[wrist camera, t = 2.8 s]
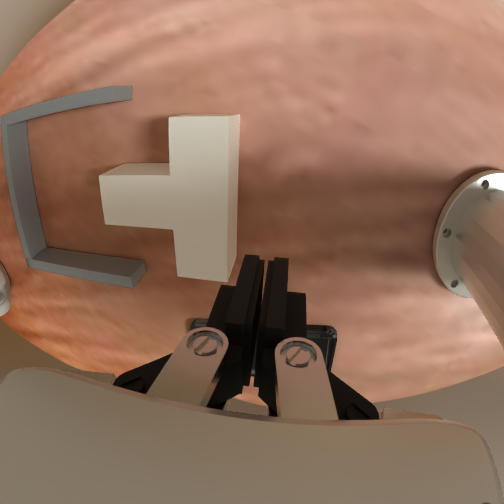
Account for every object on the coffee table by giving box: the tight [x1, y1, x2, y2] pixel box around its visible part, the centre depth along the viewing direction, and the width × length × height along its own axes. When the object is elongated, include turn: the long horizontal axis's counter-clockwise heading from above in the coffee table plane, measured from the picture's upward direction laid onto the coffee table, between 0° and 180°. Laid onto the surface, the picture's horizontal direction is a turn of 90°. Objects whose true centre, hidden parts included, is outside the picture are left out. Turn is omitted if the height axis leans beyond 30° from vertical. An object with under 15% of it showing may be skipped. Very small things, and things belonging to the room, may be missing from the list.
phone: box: [190, 319, 337, 376], centre depth 31 cm, size 8×1×15 cm
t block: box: [99, 114, 240, 282], centre depth 22 cm, size 10×12×4 cm
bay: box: [0, 86, 146, 288], centre depth 24 cm, size 15×17×3 cm
